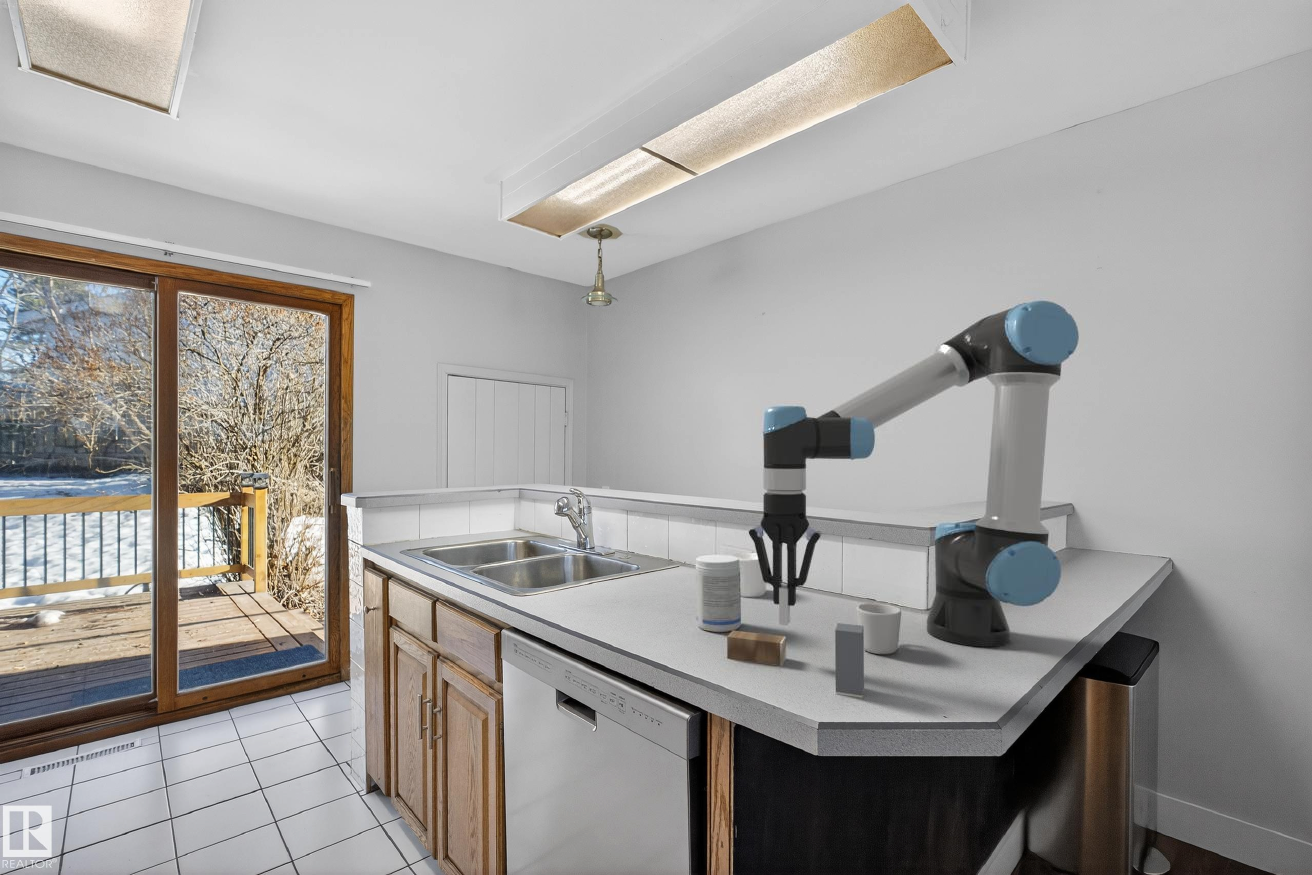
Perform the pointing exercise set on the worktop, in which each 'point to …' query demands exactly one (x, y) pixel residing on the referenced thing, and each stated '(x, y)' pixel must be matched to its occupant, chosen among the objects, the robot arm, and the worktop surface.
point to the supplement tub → (718, 593)
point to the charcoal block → (849, 659)
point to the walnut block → (756, 647)
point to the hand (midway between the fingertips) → (784, 622)
